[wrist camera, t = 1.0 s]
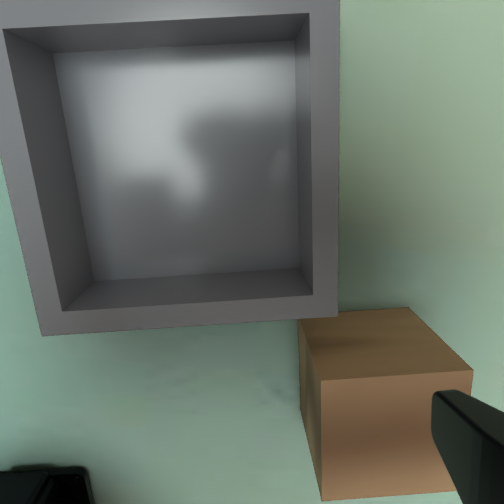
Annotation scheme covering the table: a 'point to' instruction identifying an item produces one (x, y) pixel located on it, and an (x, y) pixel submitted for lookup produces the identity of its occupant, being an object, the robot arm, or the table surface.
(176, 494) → the table surface
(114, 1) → the grey square tray
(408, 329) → the walnut cube
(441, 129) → the table surface
